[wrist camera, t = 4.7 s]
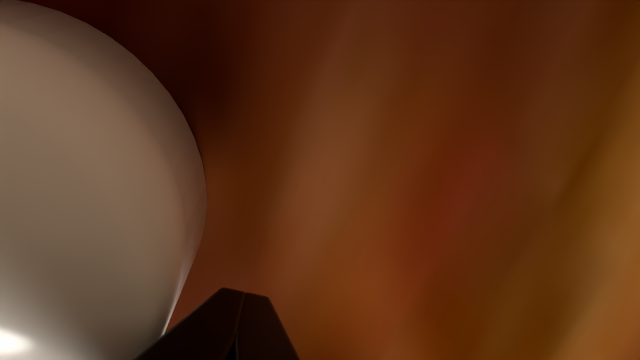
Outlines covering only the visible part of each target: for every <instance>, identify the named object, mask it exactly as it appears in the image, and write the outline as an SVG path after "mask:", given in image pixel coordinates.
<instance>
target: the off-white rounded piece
mask: <svg viewBox="0 0 640 360" xmlns="http://www.w3.org/2000/svg"><path fill="white" fill-rule="evenodd" d="M206 211H207V190H206V179H205V174H204V169H203V163H202V159H201V156H200V153H199V150H198V147H197V144H196V141H195V138H194V136H193V134H192V132H191V130H190V127H189V125H188V123H187V121H186V119H185V117H184V115H183V114H182V112H181V110H180V109H179V107H178V106H177V104H176V103H175V101H174V100H173V98H172V96H171V95H170V93H169V92H168V91H167V90H166V89H165V87H164V86H163V85H162V84H161V83H160V81H159V80H158V79H157V78H156V77H155V75H154V74H153V73H152V72H151V71H150V70H149V69H148V68H147V67H146V66H145V65H144V64H143V63H142V62H140V61H139V60H138V59H137V58H136V57H135V56H134V55H133V54H132V53H131V52H129V51H128V50H127V49H125V48H124V47H123V46H121V45H120V44H119V43H117V42H116V41H115V40H113V39H112V38H111V37H109V36H108V35H106V34H104V33H102V32H101V31H99V30H97V29H96V28H94V27H92V26H91V25H89V24H87V23H85V22H83V21H81V20H79V19H76V18H74V17H72V16H69V15H67V14H65V13H63V12H60V11H57V10H54V9H51V8H48V7H44V6H41V5H38V4H34V3H30V2H24V1H18V0H0V360H133V359H134V358H135V357H136V356H138V355H139V354H140V353H141V352H143V351H144V350H145V349H146V348H148V347H149V346H150V345H151V344H153V343H154V342H155V341H156V340H157V339H159V338H160V337H161V336H162V335H164V332H165V330H166V328H167V325H168V323H169V320H170V318H171V315H172V313H173V310H174V308H175V305H176V303H177V300H178V298H179V295H180V293H181V291H182V288H183V286H184V283H185V281H186V278H187V276H188V273H189V271H190V268H191V266H192V263H193V261H194V259H195V256H196V254H197V251H198V249H199V246H200V243H201V239H202V235H203V231H204V228H205V221H206Z"/></svg>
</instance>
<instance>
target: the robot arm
mask: <svg viewBox="0 0 640 360" xmlns="http://www.w3.org/2000/svg"><path fill="white" fill-rule="evenodd" d="M133 360H300V359H299V357H298V355H297V353H296V351H295V349H294V347H293V345H292V343H291V341H290V339H289V337H288V335H287V333H286V331H285V329H284V327H283V325H282V323H281V321H280V319H279V317H278V315H277V313H276V311H275V309H274V307H273V305H272V303H271V301H270V299H269V298H268V297H266V296H262V295H257V294H252V293H245V292H243V291H238V290H233V289H229V288H221V289H219V290H218V291H217V292H216V293H214V294H213V295H212V296H211V297H209V298H208V299H207V300H206V301H204V302H203V303H202V304H201V305H199V306H198V307H197V308H196V309H195V310H193V311H192V312H191V313H190V314H188V315H187V316H186V317H185V318H183V319H182V320H181V321H180V322H178V323H177V324H176V325H175V326H174V327H172V328H171V329H170V330H169V331H167V332H166V333H165V334H164V335H162V336H161V337H160V338H159V339H157V340H156V341H155V342H154V343H153V344H151V345H150V346H149V347H148V348H146V349H145V350H144V351H143V352H141V353H140V354H139V355H138V356H136V357H135V358H134V359H133Z"/></svg>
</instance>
